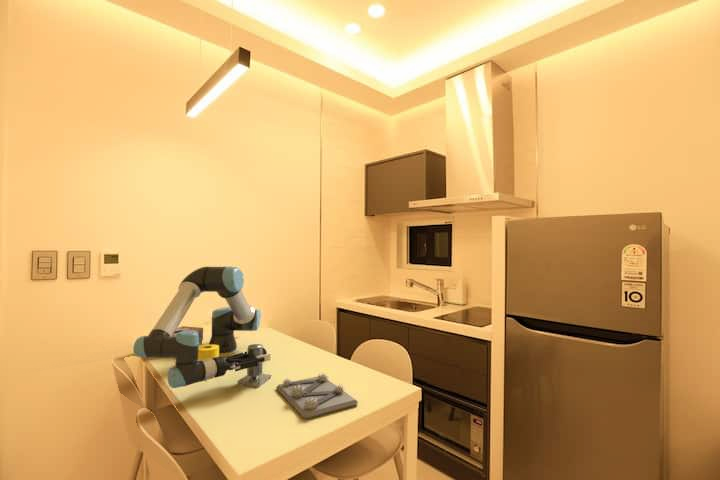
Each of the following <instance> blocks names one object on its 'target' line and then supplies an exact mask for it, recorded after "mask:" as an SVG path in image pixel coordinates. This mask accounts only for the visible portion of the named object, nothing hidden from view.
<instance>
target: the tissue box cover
mask: <svg viewBox="0 0 720 480" xmlns="http://www.w3.org/2000/svg"><path fill="white" fill-rule="evenodd" d="M188 330H194V331H197V332H198V336H199V346H202V345H203V344H202V340H203V341H204V327H200V326H199V327H197V326H186V325H185V326H183V325H182V326H178V327H177V329H176V331H175V332H174V334H173V336H172V337H176V335H177V333H178V332H181V331H188Z"/></svg>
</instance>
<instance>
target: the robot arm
mask: <svg viewBox="0 0 720 480" xmlns="http://www.w3.org/2000/svg"><path fill="white" fill-rule="evenodd" d="M243 273H244V272H243V271H242V270H241V268H240V267H236V266H202V267H200V268H197V269H195V270H193V271H192V272H190V273H189V274H188V275H186V276H185V277H184V278H183V279H182V281H181V282H180V283H179V285H178V291H177V292H176V294H175V295H174V297H173V298H172V299H171V301H170V303H169V305H167V307H166V308H165V309H164V311H163V313H162V315H161V316H160V317H159V319H158V320H157V322H156V323H155V325H154V326H153V328H152V329H151V331H150V332H149V333H148V335H144V336H140V337H138V338H137V339H136V340H135V342H134V344H133V348H132V349H133V353H134V355H135V356H136V358H137V357H138V358H144V359H150V358H151V359H152V358H154V359H155V358H159V359H163V358H164V359H165V358H167V359H174V360H175V362H174V363H175V365H174V366H172V367H170V368H169V369H168V372H167V383H168V386H169V387H170V388H172V389H178V388H182V387H187V386H191V385H194V384H196V383H197V384H198V383H200V382H207V380H211V379H214V378H215V379H216V378H220V377H224V376H225V375H226V373H227V371H233V370H234V372H238V371H242V370H247V368H250V367H255V366H258V363H261V362H262V363H264V362H269V361H271V353H267V354H265V355H261V356H257V357H256V358H251V359H247V351H244V352H240V353H236V354H231V355H228V356H222V355H219V357H215V358H210V359H206V360H201V361H198V352H199V336H198V332H197V331H194V330H188V331H181V332H178V333H177V335H176V337H172V336H173V334H174V332H175V331H176V329H177V328H178V327H180V323H181V322H182V321H183V319H184V317H185V316H186V314H187V313H188V311H189V309H190V307H191V305H192V304H193V302H194V301H195V300H196V298H198V297H200V295H201V294H202V293H205V292H206V293H207V292H208V293H209V292H210V293H215V292H216V293H217V294H218V296H220V297H221V298H222V299H225V302H226V303H227V304H228V306H224V307H218V308H216V309H213V311H212V314H211V337H210V340H209V343H208V345H209V344H214V345H219V354H222V353H223V354H224V353H229V352H233V351H236V350H237V348H238V343H237V341H236V337H235V332H236V331H238V332H239V331H241V332H243V331H244V332H255V331H258V329H259V328H260V324H261V318H262V317H261V315H262V313H261V309H255V308H254V306H252V305H251V304H249V303H248V300H247V298H246V296H245V294H244V292H243V290H242V289H243V287H244V284H245V283H244V282H245V279H244V278H245V277H244V274H243Z"/></svg>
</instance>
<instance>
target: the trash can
mask: <svg viewBox="0 0 720 480" xmlns="http://www.w3.org/2000/svg"><path fill="white" fill-rule="evenodd" d="M262 346H263V345H262V344H259V343H253V344H250V345H248V346H247V349H246V350H247V351H246V352H247V359H251V358H256V357H257V356H261V355H263V348H262ZM261 374H263V362H261V363H258V366H255V367H250V368H246V375H248V376H250V377H256V376H260V375H261Z"/></svg>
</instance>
